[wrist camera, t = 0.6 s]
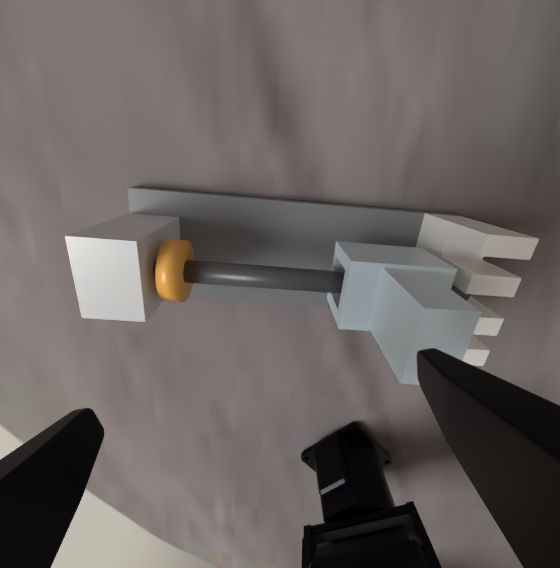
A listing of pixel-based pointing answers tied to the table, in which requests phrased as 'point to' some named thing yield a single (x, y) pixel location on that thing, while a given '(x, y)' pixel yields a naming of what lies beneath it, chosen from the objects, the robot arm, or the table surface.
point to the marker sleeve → (401, 303)
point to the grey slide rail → (270, 253)
